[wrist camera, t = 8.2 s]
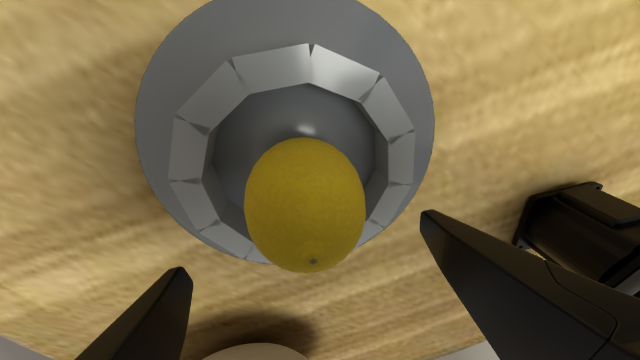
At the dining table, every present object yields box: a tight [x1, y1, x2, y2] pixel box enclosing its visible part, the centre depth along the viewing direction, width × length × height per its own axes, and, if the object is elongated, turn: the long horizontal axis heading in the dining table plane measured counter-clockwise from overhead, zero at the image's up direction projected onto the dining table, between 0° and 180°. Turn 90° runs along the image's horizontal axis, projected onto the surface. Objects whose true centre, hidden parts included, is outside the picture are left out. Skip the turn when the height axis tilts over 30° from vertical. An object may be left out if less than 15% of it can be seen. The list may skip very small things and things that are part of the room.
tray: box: [134, 0, 435, 264], centre depth 14 cm, size 18×18×3 cm
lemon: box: [244, 137, 366, 273], centre depth 11 cm, size 6×6×8 cm
